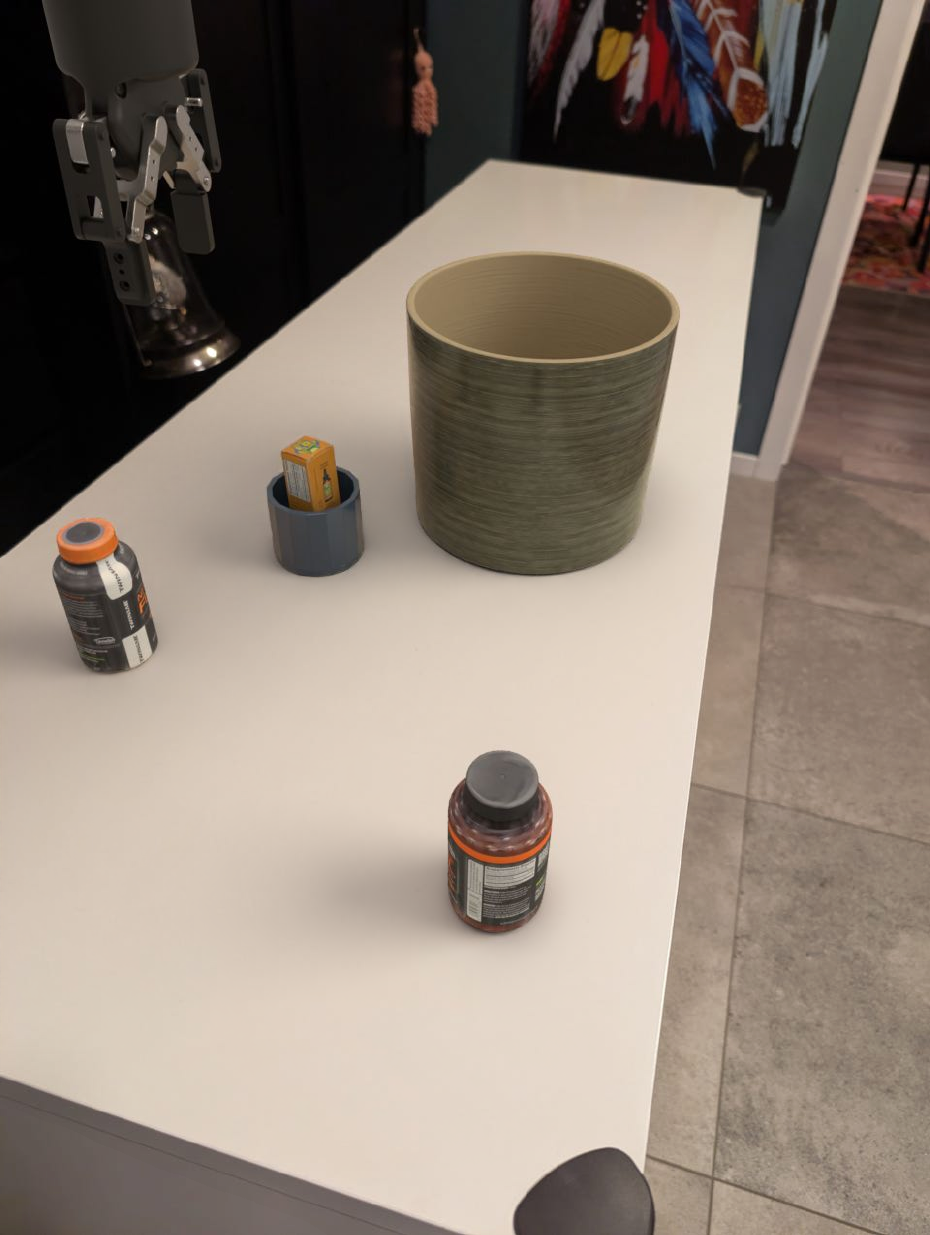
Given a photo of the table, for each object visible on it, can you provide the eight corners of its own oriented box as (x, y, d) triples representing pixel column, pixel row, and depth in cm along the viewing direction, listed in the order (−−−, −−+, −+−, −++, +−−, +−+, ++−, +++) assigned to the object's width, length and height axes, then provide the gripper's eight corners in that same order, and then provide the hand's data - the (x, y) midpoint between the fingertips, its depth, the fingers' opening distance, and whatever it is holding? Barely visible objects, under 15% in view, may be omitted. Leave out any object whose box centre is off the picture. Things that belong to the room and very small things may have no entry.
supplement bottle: (449, 851, 62) (450, 732, 54) (542, 854, 61) (555, 735, 54) (445, 935, 57) (445, 818, 50) (545, 938, 57) (560, 822, 50)
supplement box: (317, 529, 87) (306, 431, 80) (346, 542, 85) (338, 444, 79) (291, 546, 85) (279, 448, 78) (320, 560, 83) (310, 461, 77)
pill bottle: (170, 656, 75) (140, 539, 67) (94, 686, 72) (54, 567, 65) (143, 614, 78) (111, 499, 71) (70, 641, 76) (29, 524, 68)
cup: (262, 569, 83) (252, 507, 79) (293, 519, 89) (285, 458, 85) (348, 582, 82) (343, 520, 78) (374, 530, 88) (370, 470, 84)
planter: (371, 544, 86) (358, 331, 73) (462, 429, 102) (465, 236, 89) (610, 605, 80) (643, 385, 67) (668, 473, 96) (704, 273, 83)
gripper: (111, -53, 56) (164, 232, 66) (-37, -16, 45) (55, 316, 56) (233, -47, 54) (267, 242, 65) (111, -8, 44) (175, 329, 55)
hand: (169, 276), depth 60 cm, fingers open, 8 cm apart
